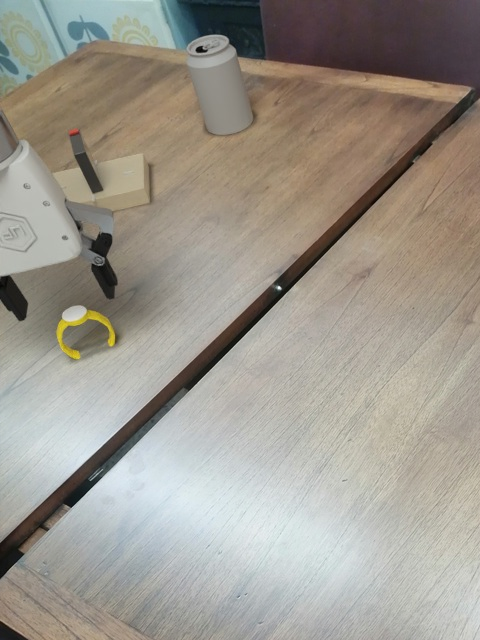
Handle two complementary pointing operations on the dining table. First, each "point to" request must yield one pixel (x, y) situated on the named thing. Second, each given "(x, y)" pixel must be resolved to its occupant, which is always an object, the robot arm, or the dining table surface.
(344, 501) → the dining table surface
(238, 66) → the can
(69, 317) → the watch
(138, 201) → the tan rectangular block
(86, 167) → the grey block
